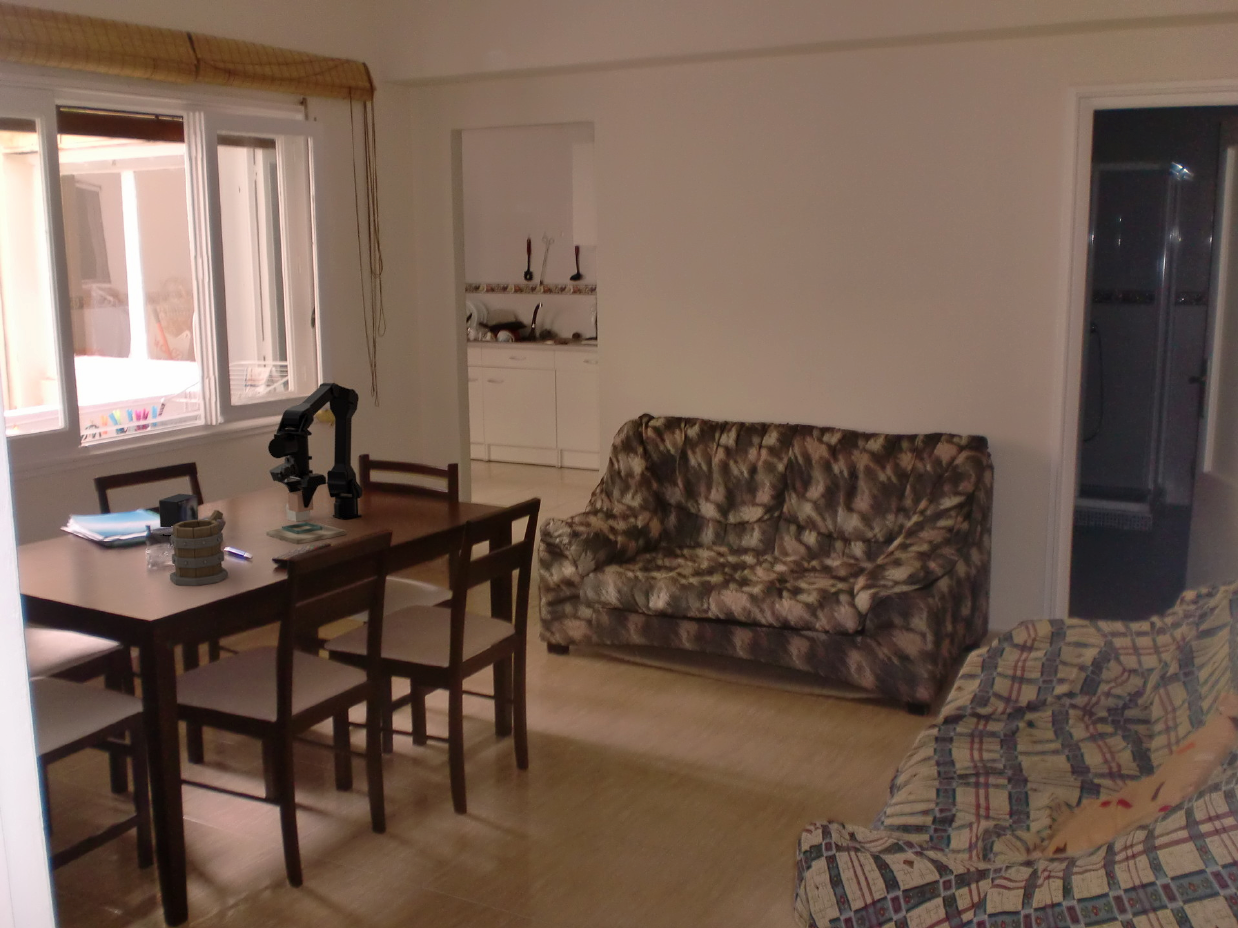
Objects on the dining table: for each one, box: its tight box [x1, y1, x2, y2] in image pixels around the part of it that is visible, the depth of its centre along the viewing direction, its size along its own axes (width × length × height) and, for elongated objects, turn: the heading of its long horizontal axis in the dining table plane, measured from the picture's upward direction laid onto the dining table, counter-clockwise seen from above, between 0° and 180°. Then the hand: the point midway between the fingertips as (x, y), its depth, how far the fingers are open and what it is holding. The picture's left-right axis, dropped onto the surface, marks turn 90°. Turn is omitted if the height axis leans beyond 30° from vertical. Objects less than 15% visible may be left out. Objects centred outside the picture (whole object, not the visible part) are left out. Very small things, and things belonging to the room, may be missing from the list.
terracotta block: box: [287, 491, 314, 512], centre depth 332 cm, size 5×5×5 cm
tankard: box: [169, 509, 229, 587], centre depth 288 cm, size 20×13×15 cm, turn 171°
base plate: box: [265, 521, 347, 545], centre depth 332 cm, size 16×16×2 cm
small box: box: [158, 493, 199, 528], centre depth 335 cm, size 11×6×10 cm, turn 168°
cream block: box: [285, 503, 311, 523], centre depth 353 cm, size 5×5×5 cm
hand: (301, 506), depth 332 cm, fingers closed on terracotta block, 5 cm apart
